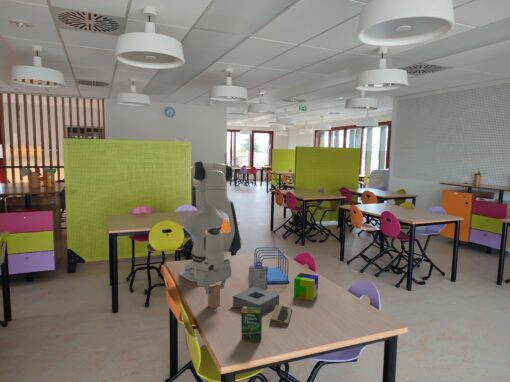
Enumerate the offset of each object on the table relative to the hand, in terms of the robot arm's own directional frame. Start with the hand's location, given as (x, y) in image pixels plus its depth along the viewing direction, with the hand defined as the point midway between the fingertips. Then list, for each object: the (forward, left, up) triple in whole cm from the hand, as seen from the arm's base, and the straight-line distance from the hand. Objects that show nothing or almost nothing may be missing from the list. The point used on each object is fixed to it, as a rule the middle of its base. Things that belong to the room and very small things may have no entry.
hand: (215, 291), depth 172 cm
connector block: (-1, 0, -8) cm, 8 cm away
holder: (+14, +14, -8) cm, 21 cm away
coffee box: (+33, -13, -8) cm, 37 cm away
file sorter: (-5, +52, -8) cm, 53 cm away
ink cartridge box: (+1, +32, -8) cm, 33 cm away
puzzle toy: (+26, +41, -8) cm, 49 cm away
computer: (+31, +11, -8) cm, 34 cm away
